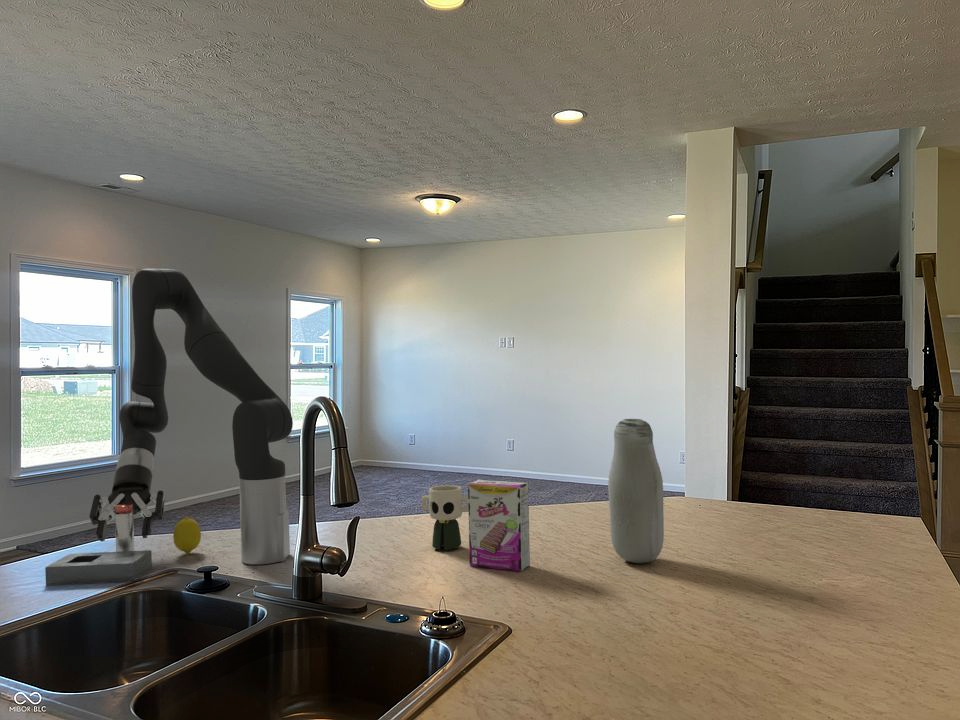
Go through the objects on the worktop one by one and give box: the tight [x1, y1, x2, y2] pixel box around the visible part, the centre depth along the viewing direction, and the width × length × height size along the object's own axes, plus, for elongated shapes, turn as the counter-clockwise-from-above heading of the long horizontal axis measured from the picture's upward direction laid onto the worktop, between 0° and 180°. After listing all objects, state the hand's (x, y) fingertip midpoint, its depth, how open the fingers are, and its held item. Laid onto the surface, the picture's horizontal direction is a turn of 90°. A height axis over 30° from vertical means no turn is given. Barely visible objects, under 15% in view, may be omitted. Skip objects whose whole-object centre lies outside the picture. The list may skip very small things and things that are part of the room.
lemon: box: [172, 516, 202, 555], centre depth 155 cm, size 6×6×8 cm
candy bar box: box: [467, 479, 531, 572], centre depth 140 cm, size 11×5×16 cm, turn 65°
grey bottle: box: [607, 418, 665, 564], centre depth 141 cm, size 10×10×28 cm
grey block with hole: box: [44, 549, 153, 586], centre depth 140 cm, size 16×9×4 cm, turn 94°
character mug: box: [421, 484, 469, 550], centre depth 154 cm, size 11×7×13 cm, turn 74°
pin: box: [114, 504, 135, 552], centre depth 149 cm, size 3×3×12 cm
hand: (123, 537), depth 148 cm, fingers open, 7 cm apart
